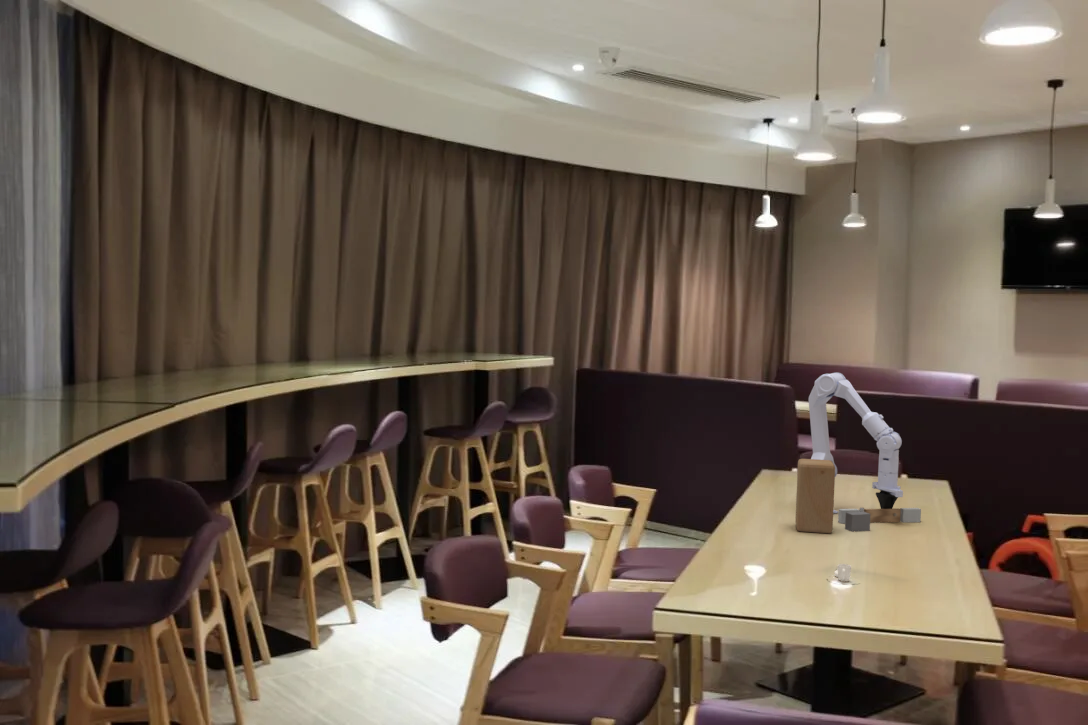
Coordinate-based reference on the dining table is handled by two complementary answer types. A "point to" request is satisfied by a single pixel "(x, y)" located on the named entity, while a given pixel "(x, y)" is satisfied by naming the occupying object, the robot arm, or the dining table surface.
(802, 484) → the wooden block
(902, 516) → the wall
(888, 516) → the door
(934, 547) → the dining table surface
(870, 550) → the dining table surface
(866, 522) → the grey rectangular block
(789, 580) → the dining table surface
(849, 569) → the teacup and saucer
